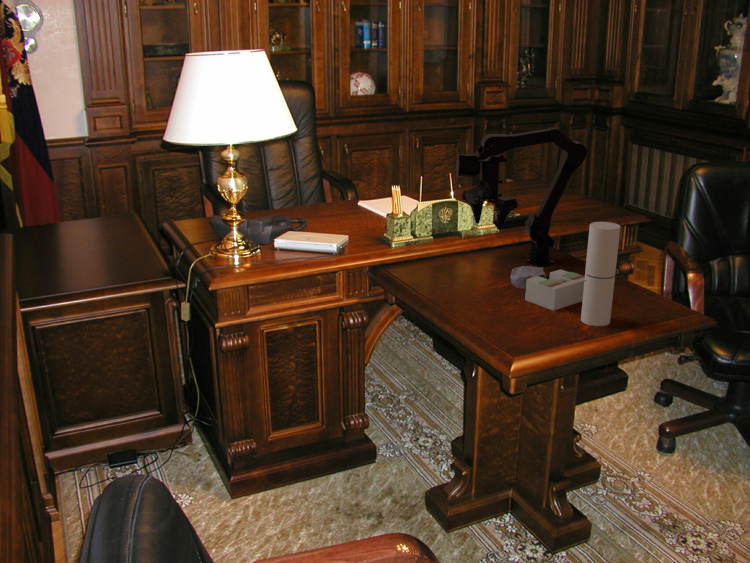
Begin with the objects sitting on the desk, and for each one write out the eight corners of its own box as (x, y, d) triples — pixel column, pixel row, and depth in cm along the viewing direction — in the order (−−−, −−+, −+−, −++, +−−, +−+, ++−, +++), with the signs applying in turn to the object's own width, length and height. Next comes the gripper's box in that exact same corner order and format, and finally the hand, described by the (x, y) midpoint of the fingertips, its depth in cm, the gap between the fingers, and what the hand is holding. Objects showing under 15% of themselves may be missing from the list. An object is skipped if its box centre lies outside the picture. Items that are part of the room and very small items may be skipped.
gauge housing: (558, 289, 209) (560, 268, 207) (587, 299, 201) (589, 277, 199) (525, 300, 201) (526, 278, 199) (553, 310, 193) (555, 288, 191)
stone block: (513, 294, 211) (548, 289, 209) (511, 278, 209) (546, 273, 208) (510, 282, 222) (543, 277, 220) (508, 267, 221) (541, 261, 219)
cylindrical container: (593, 328, 182) (603, 230, 174) (575, 318, 188) (583, 223, 180) (616, 323, 185) (626, 227, 177) (597, 313, 191) (606, 220, 183)
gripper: (449, 175, 225) (448, 224, 231) (493, 184, 211) (490, 237, 216) (476, 170, 232) (474, 218, 237) (520, 180, 218) (517, 231, 223)
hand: (487, 226), depth 228 cm, fingers open, 9 cm apart
